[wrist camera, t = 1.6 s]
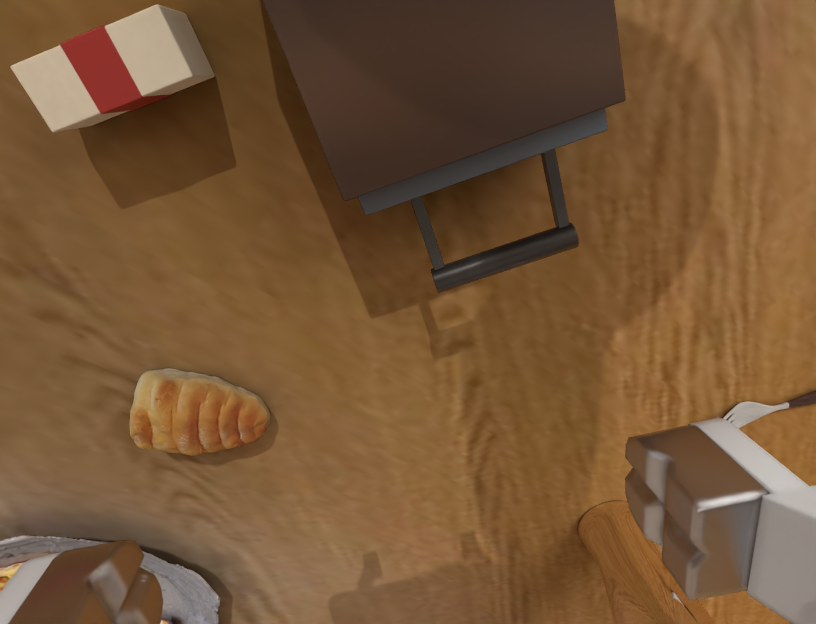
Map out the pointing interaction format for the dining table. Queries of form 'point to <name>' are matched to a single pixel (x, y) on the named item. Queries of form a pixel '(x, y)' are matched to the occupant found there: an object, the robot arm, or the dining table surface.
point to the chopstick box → (114, 69)
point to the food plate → (181, 588)
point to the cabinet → (442, 77)
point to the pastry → (194, 413)
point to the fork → (763, 409)
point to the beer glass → (635, 571)
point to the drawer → (480, 164)
